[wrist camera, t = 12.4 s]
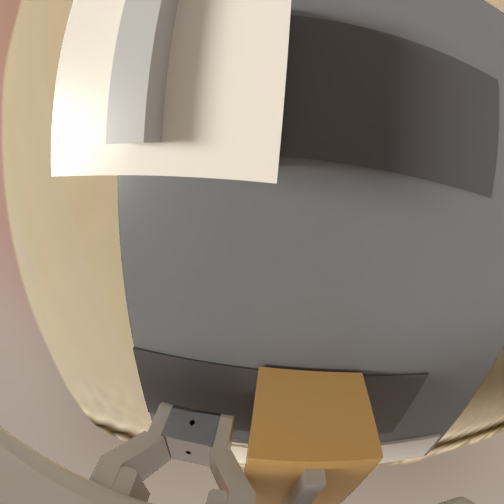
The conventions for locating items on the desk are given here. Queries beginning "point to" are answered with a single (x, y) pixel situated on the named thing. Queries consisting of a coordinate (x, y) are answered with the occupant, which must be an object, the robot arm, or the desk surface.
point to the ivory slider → (171, 89)
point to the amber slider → (310, 436)
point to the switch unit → (340, 229)
